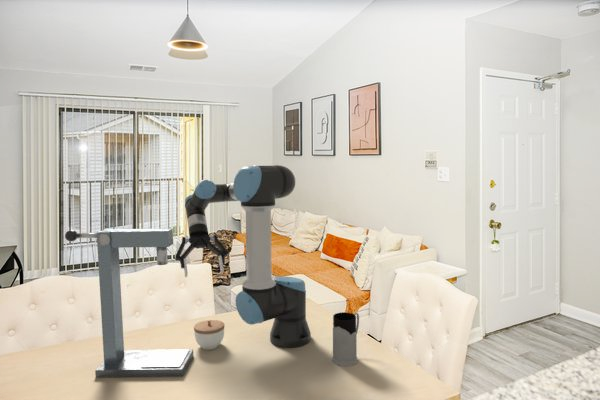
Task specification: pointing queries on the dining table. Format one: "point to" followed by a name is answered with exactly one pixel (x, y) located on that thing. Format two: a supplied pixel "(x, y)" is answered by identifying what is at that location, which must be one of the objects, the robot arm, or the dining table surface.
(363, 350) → the dining table surface
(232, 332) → the dining table surface
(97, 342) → the dining table surface
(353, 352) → the grey mug
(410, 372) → the dining table surface
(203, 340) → the lidded jar
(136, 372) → the arbor press
